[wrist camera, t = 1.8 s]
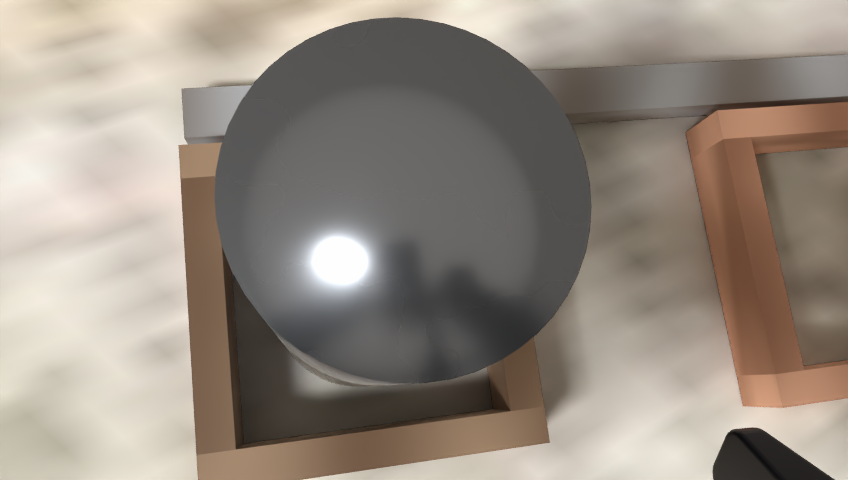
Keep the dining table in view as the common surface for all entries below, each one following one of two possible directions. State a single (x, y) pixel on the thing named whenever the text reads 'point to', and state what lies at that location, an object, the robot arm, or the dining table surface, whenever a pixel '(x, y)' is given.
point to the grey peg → (401, 202)
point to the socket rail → (518, 372)
